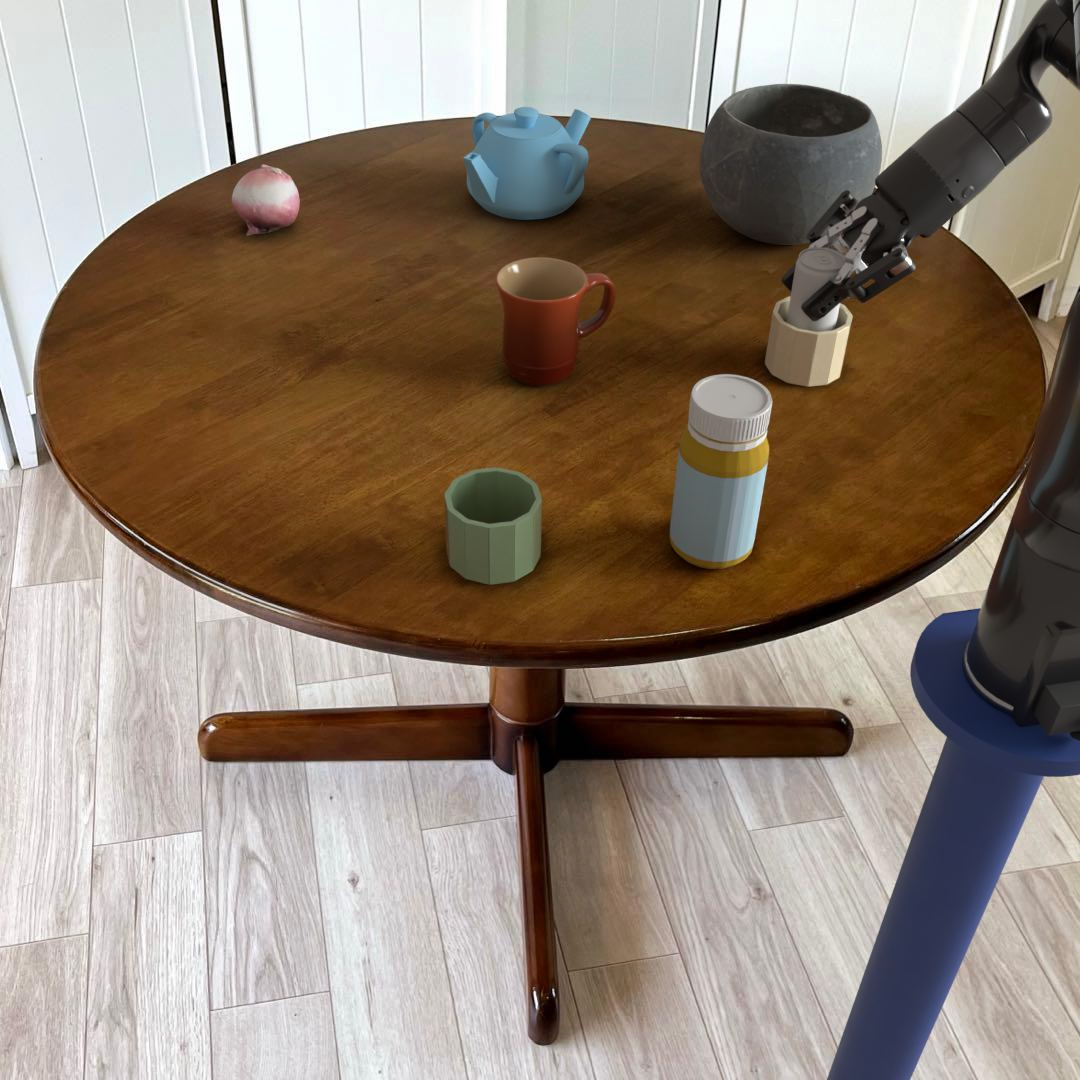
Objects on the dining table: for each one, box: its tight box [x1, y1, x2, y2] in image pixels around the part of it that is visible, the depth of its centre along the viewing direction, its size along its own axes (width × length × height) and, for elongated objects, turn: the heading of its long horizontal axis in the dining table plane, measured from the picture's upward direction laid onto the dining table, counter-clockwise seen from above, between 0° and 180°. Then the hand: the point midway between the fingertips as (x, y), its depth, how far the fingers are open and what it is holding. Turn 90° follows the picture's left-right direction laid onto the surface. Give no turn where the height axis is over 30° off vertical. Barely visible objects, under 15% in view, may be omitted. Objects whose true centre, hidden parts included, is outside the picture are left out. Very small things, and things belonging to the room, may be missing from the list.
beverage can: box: [786, 247, 845, 332], centre depth 121 cm, size 5×5×12 cm
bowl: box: [699, 83, 883, 246], centre depth 143 cm, size 20×20×15 cm
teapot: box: [462, 106, 592, 221], centre depth 150 cm, size 15×17×11 cm
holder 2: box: [764, 295, 854, 388], centre depth 123 cm, size 8×8×6 cm
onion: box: [231, 163, 301, 237], centre depth 144 cm, size 8×8×7 cm
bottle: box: [669, 373, 773, 570], centre depth 99 cm, size 7×7×15 cm
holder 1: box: [443, 466, 543, 586], centre depth 100 cm, size 8×8×6 cm
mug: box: [495, 256, 616, 387], centre depth 121 cm, size 12×9×10 cm
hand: (797, 300), depth 120 cm, fingers closed on beverage can, 5 cm apart
